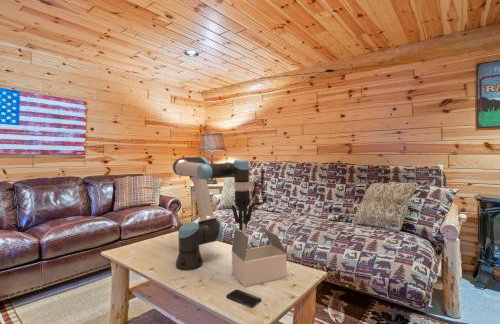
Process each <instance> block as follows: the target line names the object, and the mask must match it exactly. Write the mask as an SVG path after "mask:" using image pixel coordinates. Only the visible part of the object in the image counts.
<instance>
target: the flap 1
mask: <svg viewBox="0 0 500 324" xmlns="http://www.w3.org/2000/svg"><path fill="white" fill-rule="evenodd" d="M248 242H249V236H248V235H245V234H243V233H242V232H241V230H240V229H238V228H234V234H233V241H232V245H231V252H232V251H233V252H234V253H235V254H236V255H237V256H238V257H240V258H241V259H242V260H243V261H245V255H246V249H248V248H247V247H248Z"/></svg>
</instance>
